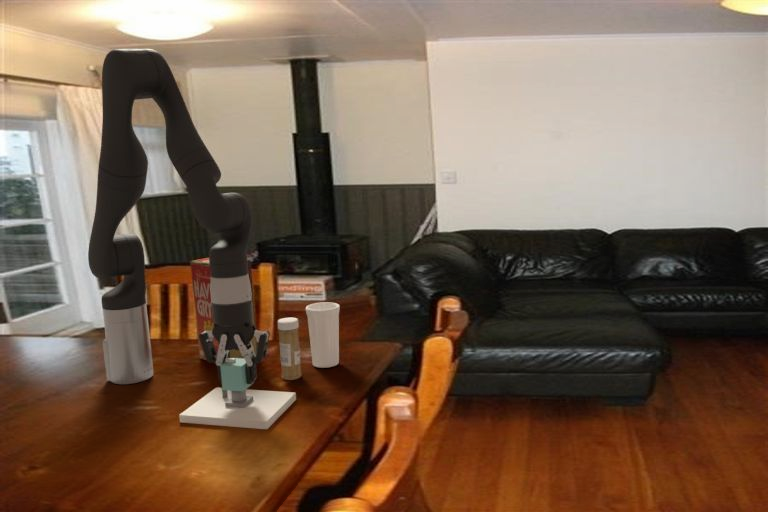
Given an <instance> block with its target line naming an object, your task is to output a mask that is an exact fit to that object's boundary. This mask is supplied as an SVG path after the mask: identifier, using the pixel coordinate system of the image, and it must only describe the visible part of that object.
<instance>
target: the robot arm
mask: <svg viewBox="0 0 768 512" xmlns="http://www.w3.org/2000/svg"><path fill="white" fill-rule="evenodd" d="M101 71H102V72H101V95H102V96H101V98H102V99H101V101H102V102H101V103H102V105H101V106H102V122H101V123H102V124H101V125H102V126H101V127H102V128H101V142H100V153H99V160H98V170H97V185H96V186H97V187H96V199H95V200H96V201H95V212H94V216H93V223H92V228H91V233H90V237H89V243H88V253H87V260H88V261H87V262H88V266H89V269H90V272H91V274H92V275H93V276H94V277H96V278H97V279H110V278H118V277H123V278H122V281H120V283H119V284H117V285H116V286H115V287H113V288H112V289H110V290H108V291H106V292H105V293H103V294H102V296H101V308H102V315H103V324H104V333H105V339H103V340H102V350H103V359H104V367H105V368H104V369H105V375H106V381H108V382H111V383H113V384H115V385H116V384H117V385H130V384H136V383H140V382H144V381H147V380H149V379H150V378H152V377H153V376H154V367H153V356H152V354H153V353H152V345H151V337H150V336H151V335H150V327H149V316H148V308H147V298H146V295H147V283H146V281H147V280H146V261H145V252H144V251H145V249H144V246H143V243H142V239H140V237H139V236H138V235H137V234H135V233H121V234H116V233H117V230H118V227H119V225H120V223H121V222H122V221H123V219H124V218H125V217H126V216H127V215H128V214H129V213H130V211H132V209H133V208H134V206H136V204H138V202H139V200H140V199H141V198H142V195H143V194H144V192H145V189H146V183H147V176H148V175H147V174H148V169H149V168H148V166H149V161H148V160H149V159H148V155H147V153H146V151H145V149H144V147H143V145H142V143H141V142H140V140H139V138H138V137H137V135H136V132H135V130H134V127H133V123H132V122H133V107H134V103H135V102H134V101H136V100H146V99H152V100H153V101H154V102H155V103H156V104H157V106H158V107H159V109H160V110H161V113H162V114H163V117H164V121H165V147H166V153H167V155H168V158H169V160H170V161H171V164H172V166H173V167H174V169H175V171H176V172H177V174H178V175H179V177H180V178H181V180H182V182H183V183H184V185H185V187H186V190H187V194H188V198H189V201H190V204H191V207H192V211H193V214H194V216H195V219H196V220H197V222H198V223H199V224H200V225H201V227H202V228H203V229H204V230H206V231H208V232H210V233H212V234H213V233H214V234H219V238H218V241H217V242H216V243H215V244H214V245H213V246H211V248H210V249H209V251H208V258H209V262H210V263H209V264H210V276H211V283H210V292H211V304H212V315H213V323H214V327H213V329H212V330H211V331H208V330H206V331H204V332H203V333H201V334H200V335H199V339H200V342H201V345H202V348H203V351H204V354H205V356H206V359H207V360H206V362H207V363H212V364H215V365H216V368H217V378H218V379H217V380H218V381H219V382H220V384H221V385H222V378H221V367H220V365H222V364H223V363H225V362H226V361H225V359H227V356H228V352H229V350H232V349H235V350H240V352H241V355H242V356H243V357H244V359H245V361H246V363H247V366H246V374H247V384H252V383H253V382H254V383H255V381H256V379H257V378H258V373H257V372H258V371H257V364H261V363H262V361H264V360H265V359H266V356H267V350H268V345H269V340H270V335H271V333H270V331H268V330H264V331H262V330H258V329H257V327H256V328H255V326H254V324H253V311H252V298H251V296H252V291H251V285H250V280H249V275H248V262H247V259H248V255H247V252H248V247H249V242H250V235H251V229H252V228H251V227H252V219H253V217H252V216H253V215H252V214H253V213H252V209H251V206H250V204H249V202H248V200H247V198H246V197H245V196H244V195H243V194H241V193H238V192H226V193H221V192H220V191H219V189H218V187H217V184H218V182H219V181H221V178H222V172H221V170H220V167H219V166H218V164H217V162H216V160H215V159H214V157H213V155H212V154H211V152H210V150H209V149H208V148H207V146H206V144H205V143H204V141H203V139H202V137H201V135H200V134H199V132H198V130H197V128H196V126H195V124H194V121H193V120H192V117H191V114H190V112H189V110H188V107H187V105H186V102H185V100H184V98H183V95H182V93H181V91H180V88H179V86H178V83H177V81H176V79H175V76H174V74H173V72H172V70H171V68H170V65H169V63H168V62H167V60H166V59H165V58H164V56H163V55H162V54H161V53H160V52H159V51H157V50H154V49H152V48H116V49H112V50H110V51H109V52H107V54H106V56H105V58H104V60H103V63H102V69H101ZM213 336H214V337H215V338H216V340H217V341H218V342H219V343H220V345H219V348H218V352H216V349H215V346H214V344H213V339H214V338H213ZM254 336H255V337H256V341H257V346H258V348H257V354H256V355H255V353H254V348H253V345H252V343H251V340H252V338H253V337H254ZM217 354H218V355H217ZM254 383H253V384H254ZM253 384H252V385H253Z"/></svg>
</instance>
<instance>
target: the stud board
mask: <svg viewBox="0 0 768 512" xmlns="http://www.w3.org/2000/svg"><path fill="white" fill-rule="evenodd" d="M296 400H297V394H296V392H291V391H276V390H263V389H262V390H261V389H260V390H259V389H249V388H247V389H245V390H244V391H230V390H222V387H218V386H217V387H215V388H213V389H212V390H211V391H209V392H208V393H207V394H205V395H204V396H202V397H201V398H200V399H199V400H197V401H196V402H195V403H193V404H192V405H191V406H189V407H188V408H187V409H185V410H184V411H183V412H181V413H179V414H178V415H179V423H184V424H185V423H186V424H197V425H208V426H209V425H210V426H220V427H232V428H233V427H235V428H244V429H245V428H247V429H259V430H268V429H269V428H270V427H271V426H272V425H273V424H274V423H275V422H276V421H277V420H278V419H279V418H280V417H281V416H282V415H283V414H284V413H285V412H286V411H287V410H288V409H289V408H290V407H291V406H292V405H293V403H294V402H295V401H296Z"/></svg>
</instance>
